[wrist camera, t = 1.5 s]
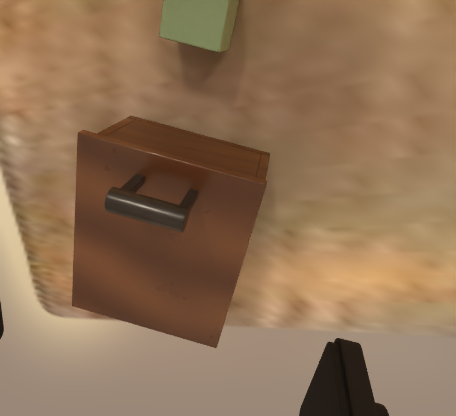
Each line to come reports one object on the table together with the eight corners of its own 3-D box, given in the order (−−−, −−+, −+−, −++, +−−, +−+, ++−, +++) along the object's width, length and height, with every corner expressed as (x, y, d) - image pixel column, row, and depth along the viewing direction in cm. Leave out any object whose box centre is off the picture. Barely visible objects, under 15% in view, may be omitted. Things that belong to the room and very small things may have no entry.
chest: (130, 115, 34) (83, 140, 26) (270, 153, 33) (264, 189, 26) (117, 249, 41) (76, 299, 33) (231, 281, 41) (218, 341, 33)
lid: (83, 129, 26) (35, 151, 21) (267, 180, 25) (261, 214, 20) (76, 300, 33) (40, 345, 28) (217, 341, 33) (205, 394, 28)
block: (176, 36, 30) (158, 36, 26) (185, -27, 28) (167, -38, 24) (228, 50, 30) (219, 52, 26) (241, -13, 28) (233, -21, 24)
